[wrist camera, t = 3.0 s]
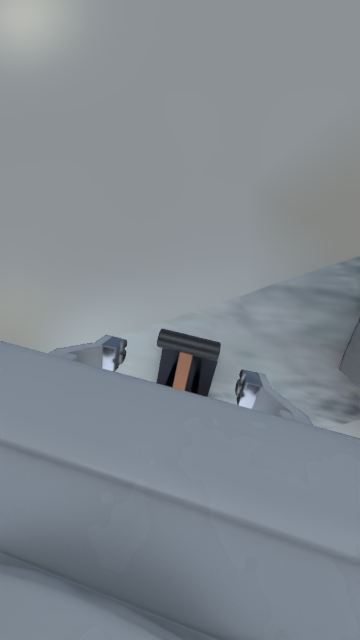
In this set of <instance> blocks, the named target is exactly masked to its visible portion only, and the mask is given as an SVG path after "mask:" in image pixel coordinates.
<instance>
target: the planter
mask: <svg viewBox="0 0 360 640" xmlns="http://www.w3.org/2000/svg"><path fill="white" fill-rule="evenodd" d="M340 370H341V371H342V372H343V373H344V374H345V375H346V376H348V377H349V378H350V379H351V380H352V381H353V382H354V383H355V384H357V385H358V386H359V387H360V321H359V323H358V325H357V327H356V329H355V331H354V334H353V336H352V338H351V341H350V343H349V345H348V347H347V350H346V352H345V355H344V358H343V360H342V363H341V366H340Z"/></svg>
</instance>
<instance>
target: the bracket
mask: <svg viewBox="0 0 360 640" xmlns="http://www.w3.org/2000/svg"><path fill="white" fill-rule="evenodd" d="M179 354H180V352H177V351H173V350H169V349H165V348H163V349H162V355H161V361H160V367H159V373H158V379H157V383H158V384H161V385H165V386H169V387H172V388H173V383H174V378H175V373H176V368H177V364H178V359H179ZM216 364H217V361H212V360H208V359H204V358H201V357H197V356H193V357H192V361H191V366H190V370H189V374H188V378H187V383H186V387H185V391H187V392H191V393H194V394H198V395H202V396H205V397H207V395H208V392H209V388H210V385H211V382H212V378H213V375H214V371H215V368H216Z"/></svg>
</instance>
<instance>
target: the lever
mask: <svg viewBox="0 0 360 640" xmlns="http://www.w3.org/2000/svg"><path fill="white" fill-rule="evenodd" d="M157 346H158V347H161V348H165V349H169V350H173V351H177V352H180V354H179V359H178V364H177V368H176V373H175V378H174V383H173V388H176V389H180V390H183V391H185V387H186V383H187V378H188V374H189V370H190V366H191V361H192V357H193V356H197V357H201V358H204V359H208V360H212V361H217V359H218V356H219V352H220V346H221V344H220V342H216V341H212V340H207V339H203V338H199V337H195V336H191V335H187V334H183V333H179V332H174V331H170V330H166V329H161V331H160V333H159V336H158V340H157Z"/></svg>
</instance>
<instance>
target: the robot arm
mask: <svg viewBox="0 0 360 640" xmlns="http://www.w3.org/2000/svg"><path fill="white" fill-rule="evenodd" d="M126 346H127V340H124V339H121V338H117V337H113V336H110V335H105V336H104V337H102V338H101V339H99V340H98V341H96V342H95V343H87V344H81V345H76V346H70V347H64V348H58V349H55V350H53V351H52V352H50V353H48V354H47V353H44V352H40V351H36V350H32V349H29V348H25V347H21V346H18V345H14V344H10V343H7V342H3V341H0V640H360V438H356V437H352V436H349V435H345V434H342V433H338V432H334V431H330V430H327V429H323V428H320V427H316V426H313V424H312V422H311V421H310V419H309V417H308V416H307V415H306V414H304V413H303V412H302V411H301V410H299V409H298V408H297V407H295V406H294V405H293V404H292V403H290V402H289V401H288V400H287V399H285V398H284V397H283V396H282V395H280V394H279V393H278V392H277V391H275V390H273V389H272V388H271V386H270V383H269V381H268V379H267V377H266V375H265V374H261V373H257V372H252V371H248V370H243V369H242V370H241V371H240V374H239V375H240V379H239V380H237V383H236V388H235V392H236V395H237V396H238V397H237V404H238V405H235V404H231V403H227V402H224V401H220V400H216V399H213V398H209V397H205V396H202V395H198V394H194V393H191V392H187V391H183V390H180V389H176V388H172V387H169V386H165V385H161V384H158V383H154V382H150V381H147V380H143V379H139V378H136V377H132V376H128V375H125V374H121V373H117V372H115V370H116V369H117V368H118V365H119V364H122V363H123V361H124V359H125V356H126V350H125V347H126Z"/></svg>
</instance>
